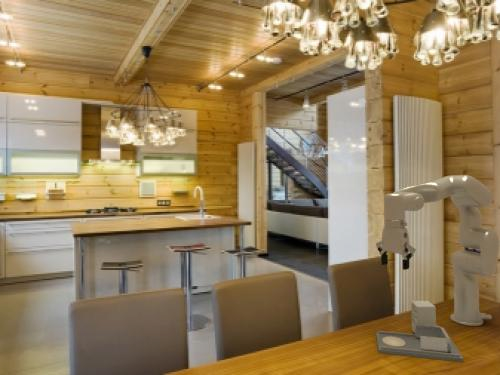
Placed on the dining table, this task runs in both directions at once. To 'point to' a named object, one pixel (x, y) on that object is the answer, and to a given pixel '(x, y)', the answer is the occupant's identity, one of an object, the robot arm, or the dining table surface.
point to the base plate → (411, 347)
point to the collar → (433, 338)
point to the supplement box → (423, 313)
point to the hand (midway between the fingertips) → (394, 266)
